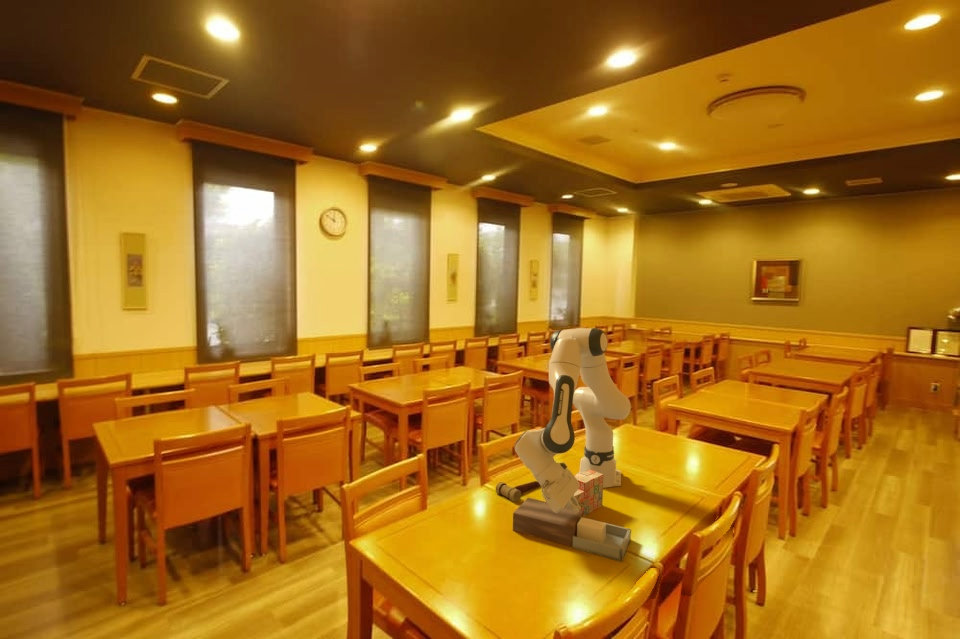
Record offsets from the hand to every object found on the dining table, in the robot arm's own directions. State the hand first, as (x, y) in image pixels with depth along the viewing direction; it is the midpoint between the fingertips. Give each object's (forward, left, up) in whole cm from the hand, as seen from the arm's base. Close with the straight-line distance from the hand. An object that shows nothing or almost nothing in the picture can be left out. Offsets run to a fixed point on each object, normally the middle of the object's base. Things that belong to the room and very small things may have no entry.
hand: (578, 511), depth 152 cm
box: (0, +8, -9) cm, 12 cm away
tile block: (0, 0, -5) cm, 5 cm away
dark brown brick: (0, -10, -9) cm, 13 cm away
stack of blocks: (-17, -5, -9) cm, 20 cm away
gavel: (-23, -29, -9) cm, 38 cm away
